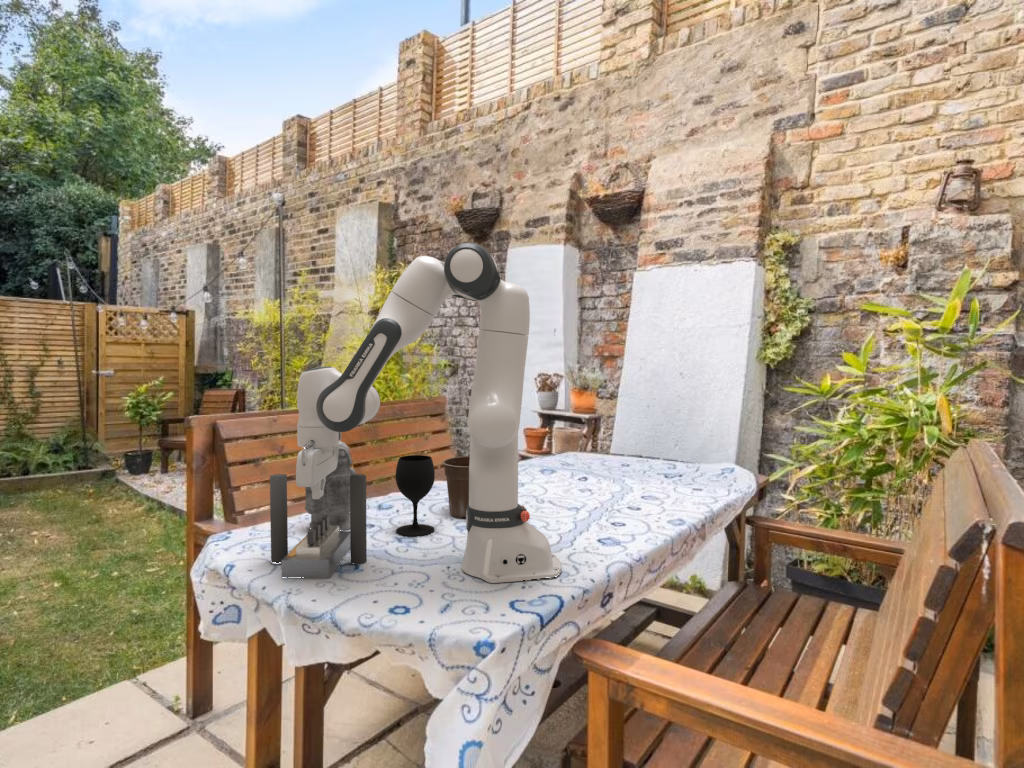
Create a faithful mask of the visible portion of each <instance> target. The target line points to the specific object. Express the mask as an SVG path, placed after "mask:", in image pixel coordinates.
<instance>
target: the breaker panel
mask: <svg viewBox="0 0 1024 768" xmlns="http://www.w3.org/2000/svg"><path fill="white" fill-rule="evenodd" d="M349 549H350V530H349V531H348V530H344V531H339V526H329V528H328V529H325V532H324V533H323V534H321V536H320V537H319V539H316V542H315V543H314V544H308V543H307V534H306V535H305V536H304V538H302V539H301V540H300V541H299V542H298V543H297V544H296V545H295V546H294V547H292V549H291V550H290V551H288V554H287V555H286V556H285V557H284V558H283V559H282V560H281V564H280V565H281V566H280V568H281V572H280V573H281V578H282V577H287V578H288V577H301V578H300V579H330V578H331V577H332V575H333V574H332V573H334V572H335V571H336V570H337V568H338V567H337V566H339V565H340V564H341V562H342V561H343V560H344V558H345V557H346V556H347V554H348V553H349V551H350V550H349ZM348 550H349V551H348ZM347 552H348V553H347ZM346 553H347V554H346ZM345 555H346V556H345ZM344 556H345V557H344ZM343 557H344V558H343ZM342 559H343V560H342ZM341 560H342V561H341ZM340 561H341V562H340ZM339 563H340V564H339ZM338 564H339V565H338ZM336 567H337V568H336ZM334 570H335V571H334ZM331 574H332V575H331ZM302 577H304V578H302ZM329 577H330V578H329Z"/></svg>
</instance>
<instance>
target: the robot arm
mask: <svg viewBox="0 0 1024 768" xmlns="http://www.w3.org/2000/svg"><path fill="white" fill-rule="evenodd" d="M451 296H452V297H455V298H459V299H460V298H461V299H465V300H467V301H473V302H477V303H478V305H479V309H480V319H479V327H478V337H477V347H476V355H475V366H474V370H473V371H474V372H473V379H472V386H471V392H470V401H469V408H468V410H469V411H468V417H467V428H468V432H469V434H470V437H469V438H470V439H469V440H470V441H469V456H470V462H469V504H468V505H467V510H466V518H465V519H466V520H465V523H466V524H465V525H466V526H465V527H466V531H467V534H466V535H467V538H466V544H465V551H464V555H463V559H462V563H461V564H460V565H461V567H460V569H461V570H462V572H464V573H465V574H467V575H469V576H472V577H476V578H479V579H482V580H484V581H485V582H487V583H489V584H497V583H498V584H499V583H501V584H502V583H508V582H509V583H510V582H523V580H525V581H532V580H531V579H537V580H540V579H539V578H546V577H555V576H557V575H558V574H560V572H561V573H562V562H561V561H560V558H558V557H557V556H556V555H555V554H553V553H552V548H551V544H550V542H549V539H548V538H547V536H546V535H545V534H544V533H543V532H541V531H540V530H539V529H537V528H536V527H535V526H533V525H532V524H531V523H529V520H530V518H531V515H530V512H529V511H528V509H527V508H526V507H525V505H523V504H522V505H521V504H519V429H520V424H521V423H520V422H521V414H522V413H521V412H522V404H523V403H522V401H523V393H524V382H525V381H524V380H525V371H526V361H527V353H528V352H527V350H528V345H529V334H530V333H529V332H530V319H531V318H530V317H531V313H530V312H531V311H530V297H529V294H528V292H527V290H526V289H525V288H524V287H523V286H521V285H519V284H517V283H513V282H508V281H505V280H503V279H502V278H501V275H500V271H499V268H498V265H497V263H496V260H495V258H494V257H493V255H492V254H491V253H490V251H488V249H486V248H485V247H483V245H480V244H478V243H474V242H464V243H463V242H462V243H460V244H457V245H456V246H454V247H453V248H451V250H450V251H448V253H447V255H446V257H445V259H444V261H441V260H439V259H437V258H435V257H434V256H433V257H432V256H430V255H429V256H428V255H420V256H417V257H416V258H414V259H413V260H412V261H411V263H410V264H409V265H408V266H407V267H406V268H405V269H404V271H403V272H402V274H401V275H400V276H399V278H398V279H397V281H396V282H395V284H394V286H393V287H392V289H391V291H389V294H388V296H387V297H386V300H385V302H384V303H383V305H382V307H381V309H380V312H379V313H378V315H377V317H376V319H375V321H374V323H373V324H372V326H371V329H370V331H369V332H368V334H367V336H366V337H365V338H364V339H363V341H362V343H361V344H360V346H359V347H358V349H357V351H356V352H355V354H354V355H353V356H352V357H351V358H352V359H351V360H350V362H349V363H348V364H347V366H346V368H345V369H344V371H343V372H340V371H338V370H337V368H336V367H334V366H331V365H330V366H327V365H326V366H325V365H324V366H319V367H318V366H317V367H313V368H308V369H305V370H304V371H302V373H301V374H300V376H299V378H298V385H297V397H296V398H297V399H296V402H297V404H296V405H297V406H296V408H297V409H298V420H297V423H296V424H297V425H296V426H297V428H296V429H297V431H296V432H297V436H296V437H297V442H296V443H297V447H298V448H303V449H301V450H300V451H299V452H298V453H297V456H296V465H295V466H296V467H295V484H296V486H297V487H298V488H305V487H311V490H312V498H313V499H320V498H321V497H322V496H323V495H324V486H325V481H326V476H327V475H329V474H330V473H331V472H333V471H334V470H335V469H336V468H337V464H338V453H339V441H341V440H342V433H345V432H349V431H351V430H353V429H354V428H356V427H358V426H360V425H362V424H364V423H367V422H368V421H370V420H372V419H373V418H374V417H375V416H376V415H378V413H379V410H380V408H381V395H380V394H379V392H378V391H377V389H376V388H375V387H374V386H373V384H374V383H375V381H376V379H377V378H378V376H379V375H380V373H381V372H382V371H383V369H384V367H385V366H386V364H387V362H388V361H389V360H390V359H391V358H392V357H393V355H395V354H396V353H397V352H399V351H400V350H402V349H403V348H405V347H407V346H409V345H411V344H413V343H414V342H416V341H418V340H419V339H420V338H421V336H422V335H424V333H425V332H426V331H427V330H428V328H429V326H430V325H431V324H432V322H433V320H434V319H435V317H436V315H437V313H438V311H439V310H440V308H441V307H442V306H443V303H444V302H445V301H446V300H447V299H448V298H450V297H451ZM560 575H561V574H560Z"/></svg>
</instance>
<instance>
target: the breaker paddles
mask: <svg viewBox="0 0 1024 768" xmlns="http://www.w3.org/2000/svg"><path fill="white" fill-rule="evenodd" d="M328 528H329V515H324V516H323V517H322V520H319V521H318V522H317V524H315V525H314V526H313V527H312V529H310V528H309V530H307V533H306V535H307V543H308V544H314V543H315V542H316V539H319V537H320V536H321V534H323V533H324V532H325V529H328Z"/></svg>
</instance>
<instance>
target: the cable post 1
mask: <svg viewBox="0 0 1024 768" xmlns="http://www.w3.org/2000/svg"><path fill="white" fill-rule="evenodd" d="M269 499H270V500H269V501H270V502H269V503H270V504H269V505H270V506H269V510H270V512H269V513H270V517H269V518H270V561H272V562H276V563H279V562H281V560H282V559H283V558H284V557H285V556H286V555H287V554H288V553H289V545H288V544H289V541H288V539H289V536H288V533H289V531H288V530H289V529H288V526H289V525H288V474H284V473H276V474H271V475H269Z"/></svg>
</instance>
